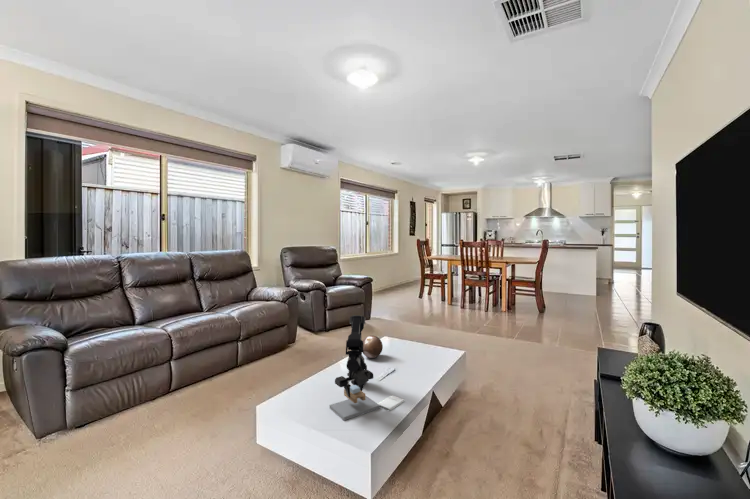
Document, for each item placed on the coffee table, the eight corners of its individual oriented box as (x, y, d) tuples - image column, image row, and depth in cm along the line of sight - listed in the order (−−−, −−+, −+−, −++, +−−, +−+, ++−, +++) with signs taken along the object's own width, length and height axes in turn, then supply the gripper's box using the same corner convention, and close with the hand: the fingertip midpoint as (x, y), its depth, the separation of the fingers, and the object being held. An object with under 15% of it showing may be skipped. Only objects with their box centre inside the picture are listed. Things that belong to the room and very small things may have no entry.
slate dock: (364, 397, 179) (364, 394, 179) (379, 408, 167) (379, 405, 167) (329, 408, 167) (329, 405, 167) (343, 420, 156) (343, 417, 156)
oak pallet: (354, 392, 173) (354, 386, 173) (365, 399, 165) (365, 393, 165) (344, 395, 170) (344, 389, 169) (354, 403, 161) (354, 397, 161)
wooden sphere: (358, 359, 234) (357, 338, 234) (365, 353, 248) (364, 332, 248) (379, 362, 230) (379, 339, 229) (385, 355, 244) (385, 333, 244)
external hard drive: (376, 406, 170) (391, 397, 179) (389, 412, 164) (404, 402, 174) (376, 403, 170) (391, 394, 179) (389, 408, 164) (404, 399, 174)
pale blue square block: (355, 388, 170) (355, 384, 170) (360, 391, 167) (360, 387, 167) (348, 390, 168) (348, 386, 168) (352, 393, 164) (352, 389, 164)
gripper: (345, 373, 155) (346, 407, 155) (379, 364, 165) (379, 396, 166) (334, 365, 164) (334, 398, 164) (367, 358, 174) (367, 388, 175)
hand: (354, 395), depth 167 cm, fingers closed on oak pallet, 6 cm apart
